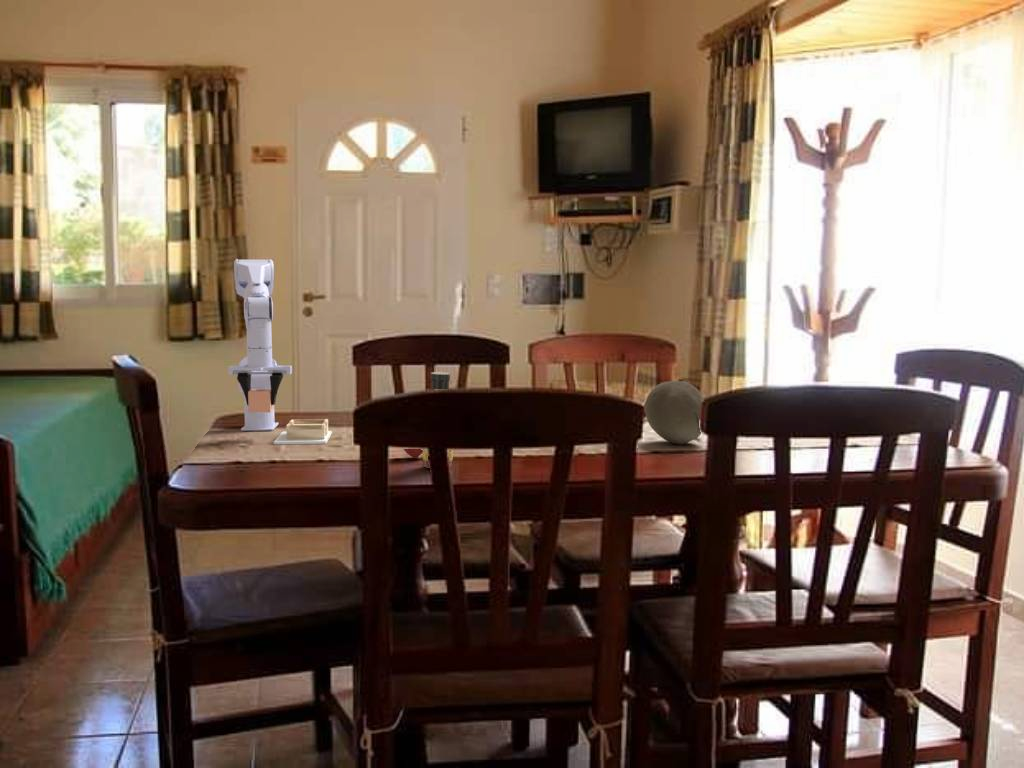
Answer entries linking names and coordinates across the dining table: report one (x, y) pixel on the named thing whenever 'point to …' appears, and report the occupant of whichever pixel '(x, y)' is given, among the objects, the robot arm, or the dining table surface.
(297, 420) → the birch tray
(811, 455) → the dining table surface
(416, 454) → the onion
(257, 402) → the terracotta block
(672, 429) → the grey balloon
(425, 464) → the sauce bottle
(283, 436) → the white board
